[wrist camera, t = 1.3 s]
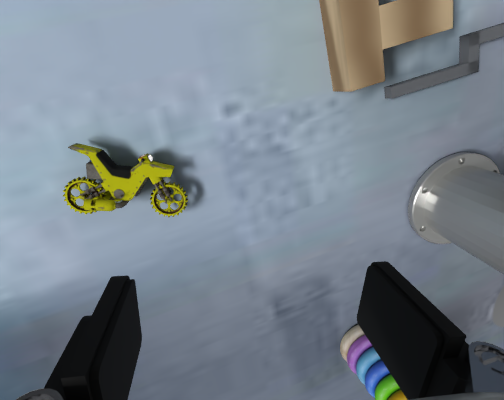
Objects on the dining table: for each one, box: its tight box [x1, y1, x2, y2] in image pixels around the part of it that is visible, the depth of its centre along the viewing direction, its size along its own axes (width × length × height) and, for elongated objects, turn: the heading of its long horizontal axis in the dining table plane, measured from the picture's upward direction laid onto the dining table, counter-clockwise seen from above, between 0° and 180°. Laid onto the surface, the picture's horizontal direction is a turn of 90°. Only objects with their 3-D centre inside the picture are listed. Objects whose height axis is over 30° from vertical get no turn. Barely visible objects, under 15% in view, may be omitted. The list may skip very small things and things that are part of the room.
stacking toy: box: [340, 324, 407, 400], centre depth 37 cm, size 8×8×19 cm
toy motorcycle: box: [63, 143, 188, 217], centre depth 29 cm, size 12×4×7 cm
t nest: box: [384, 23, 504, 99], centre depth 29 cm, size 17×14×1 cm
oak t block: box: [319, 0, 453, 92], centre depth 28 cm, size 10×9×4 cm
